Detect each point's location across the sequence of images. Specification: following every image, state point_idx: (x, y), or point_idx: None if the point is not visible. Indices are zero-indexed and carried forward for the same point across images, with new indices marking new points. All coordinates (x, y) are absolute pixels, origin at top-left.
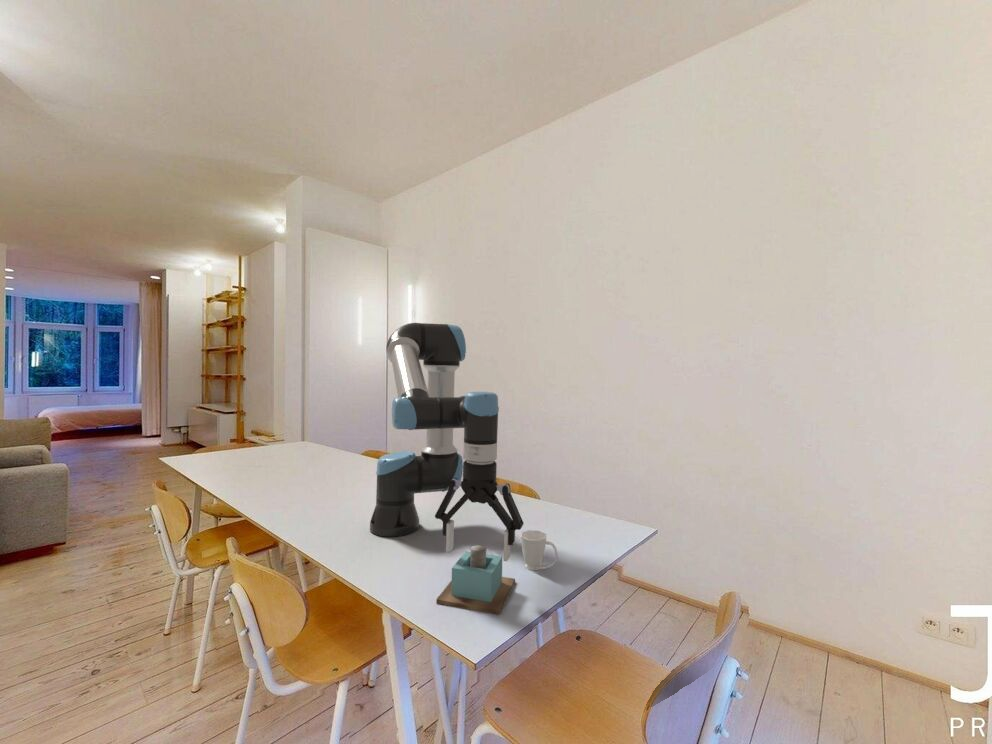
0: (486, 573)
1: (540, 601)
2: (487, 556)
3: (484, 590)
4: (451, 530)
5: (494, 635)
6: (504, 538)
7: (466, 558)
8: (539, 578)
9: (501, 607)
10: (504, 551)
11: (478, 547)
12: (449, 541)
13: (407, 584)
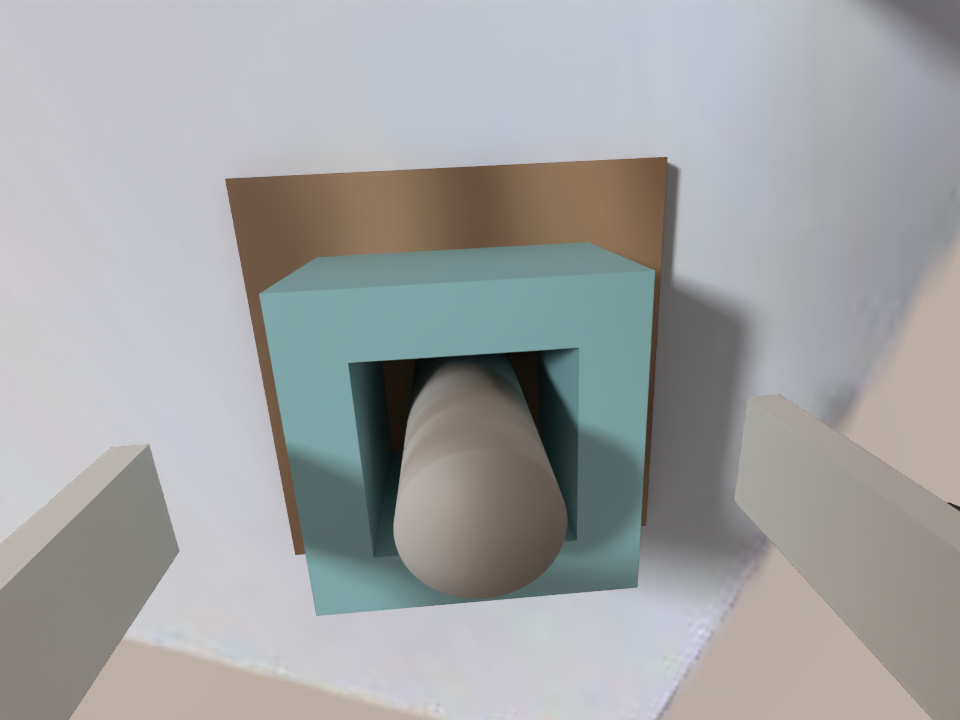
0: (598, 588)
1: (832, 330)
2: (514, 324)
3: None
4: (14, 695)
5: (651, 640)
6: (907, 687)
7: (345, 436)
8: (822, 30)
9: (646, 490)
10: (795, 562)
11: (470, 503)
12: (118, 633)
13: (12, 440)
